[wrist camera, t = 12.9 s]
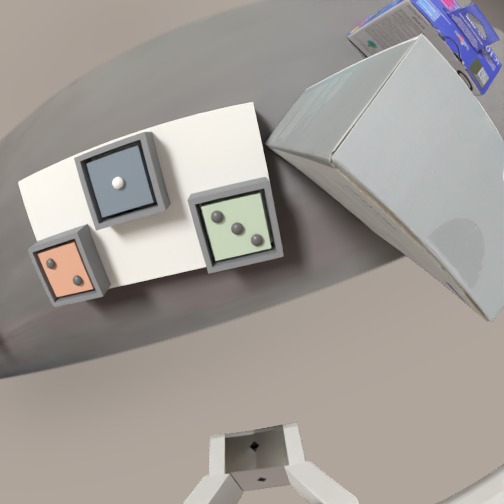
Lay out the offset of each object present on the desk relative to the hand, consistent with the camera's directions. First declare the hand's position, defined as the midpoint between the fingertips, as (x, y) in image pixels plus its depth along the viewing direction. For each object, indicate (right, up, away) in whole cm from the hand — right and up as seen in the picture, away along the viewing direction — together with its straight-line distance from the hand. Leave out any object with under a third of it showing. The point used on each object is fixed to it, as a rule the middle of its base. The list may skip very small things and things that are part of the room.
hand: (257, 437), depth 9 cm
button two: (-19, +5, +19) cm, 27 cm away
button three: (-2, +9, +19) cm, 21 cm away
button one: (-12, +13, +16) cm, 24 cm away
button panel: (-11, +11, +20) cm, 26 cm away
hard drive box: (+9, +16, +21) cm, 28 cm away
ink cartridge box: (+15, +28, +16) cm, 35 cm away
